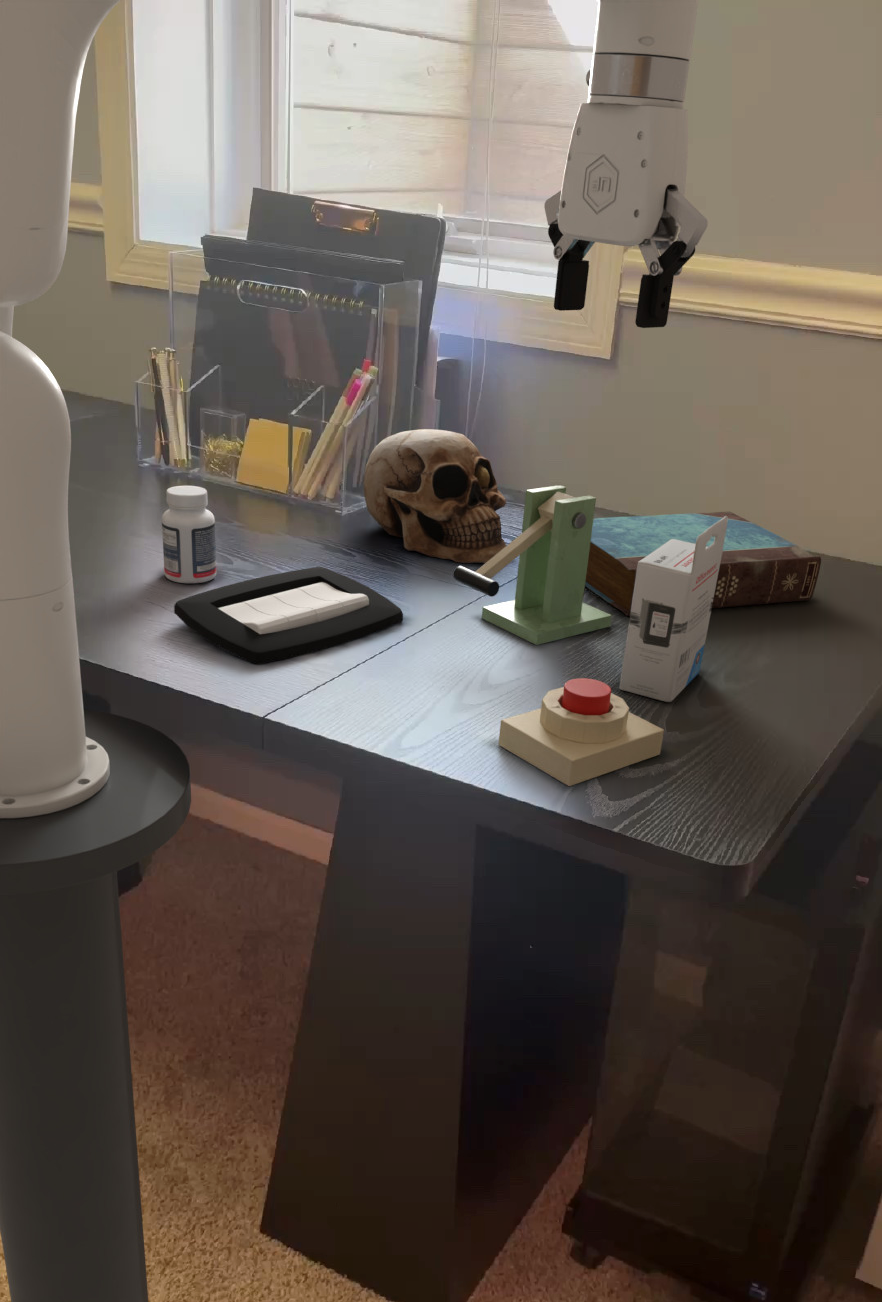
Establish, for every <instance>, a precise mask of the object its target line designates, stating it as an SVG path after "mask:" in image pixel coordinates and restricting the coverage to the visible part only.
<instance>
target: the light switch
mask: <svg viewBox="0 0 882 1302" xmlns="http://www.w3.org/2000/svg"><path fill="white" fill-rule="evenodd" d="M173 612H174V614H175V615H176V617H178V618H179V619H180V620H181V621H182V622H183V623H184V624H185V625H186V626H187V627H188V628H190V629H191V630H192V631H194V632H195V633H196V634H197V635H199V636H201V637H202V638H203V639H205V640H206V641H208V642H209V643H211V644H213V645H215V646H217V647H218V648H220V649H222V650H223V651H226V652H228V653H229V654H232V655H234V656H237V657H238V658H241V659H243V660H245V661H248V662H249V663H252V664H266V663H271V662H276V661H280V660H286V659H289V658H293V657H298V656H302V655H306V654H311V653H314V652H319V651H322V650H326V649H329V648H333V647H335V646H340V645H344V644H346V643H349V642H352V641H356V640H358V639H361V638H364V637H367V636H369V635H372V634H375V633H377V632H380V631H383V630H385V629H389V628H390V627H393V626H394V625H397V624H400V623H402V621H403V620H404V613H403V610H402V609H401V608H400V606H397V605H396V604H395V603H394V602H393V601H391V600H390V599H388V598H387V597H386V596H384V595H383V594H380V593H379V592H377V591H376V590H374V589H372V588H371V587H369V586H367V585H365V584H363V583H361V582H359V581H357V580H355V579H352V578H350V577H349V576H346V575H344V574H342V573H338V572H337V571H334V570H332V569H329V568H326V567H322V566H316V567H309V568H302V569H296V570H291V571H285V572H279V573H275V574H270V575H266V576H265V575H264V576H261V577H256V578H252V579H247V580H243V581H238V582H236V583H232V584H228V585H223V586H220V587H217V588H213V589H210V590H206V591H203V592H199V593H197V594H194V595H190V596H187V597H185V598H182V599H179V600H176V602H175V604H174V606H173Z"/></svg>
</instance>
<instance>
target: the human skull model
mask: <svg viewBox="0 0 882 1302" xmlns="http://www.w3.org/2000/svg"><path fill="white" fill-rule="evenodd" d="M366 462H367V463H366V465H365V468H364V469H365V470H364V475H363V496H364V500H365V505H366V509H367V511H368V514H369V515H371V517H372V518H373V519H374V520H375V522H377V524H378V525H379V526H380V527H381V528H382V529H383V530H384V531H385V532H386V533H387V534H388V535H390V536H394V537H397V538H402V539H403V547H404V549H405V550H407V551H409V552H417V553H419V554H423V555H426V556H428V557H432V558H439V559H441V560H450V561H451V560H452V561H454V562H456V563H463V564H478V563H481V564H485V563H486V562H488V561H489V560H490V559H491V558H492V557H494V556H495V555H496V554H497V553H499V552H500V551H501V550H502V549H503V548H505V547H506V546H507V544H506V542H505V539H504V538H503V536H502V522H501V516H500V515H499V514H498V513H497V511H498V510H500V509H502V508H504V507H505V506H506V504H507V502H506V501H507V500H506V498H505V496H504V494H502V492H500V490H499V489H498V483H497V480H496V477H495V475H494V471H493V469H492V468H493V467H492V463H491V461H490V460H489V458H485V457H484V456H482V454H481V452H480V451H479V449H478V448H477V446H476V445H475V444H474V443H473V442H472V441H471V440H470V439H469V438H468V437H467V436H465V435H464V434H463V433H460V432H455V431H451V430H445V429H432V428H431V429H430V428H428V429H425V428H423V429H422V428H421V429H412V430H406V431H400V432H397V433H394V434H392V435H389V436H388V437H385V438H384V439H382V440H381V441H380V442H379V443H378V444H377V445H375V447H374V448H373V449H372V451H371V453H370V455H369V457H368V460H367V461H366Z"/></svg>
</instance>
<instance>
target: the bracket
mask: <svg viewBox="0 0 882 1302" xmlns="http://www.w3.org/2000/svg"><path fill="white" fill-rule="evenodd" d="M557 492H561V493H564V494H566V493H567V487H566V486H563V485H560V484H559V485H558V484H557V485H551V486H544V487H539V488H532V489H531V488H530V489H526V490H525V497H524V505H523V506H524V507H523V517H522V527H521V534H522V533H523V532H524V531H525V530H527V529H528V528H529V527H530V526H531V525H533V524H534V523H535V522H536V521H538V520H539V519H540V518H541V517H540V514H539V510H538V507H540V506H541V505H542V504H543V503H545V502H546V501H547V500H548V499H549V498H551V497H552V496H553V495H554V494H556V493H557ZM566 495H567V494H566ZM596 502H597V497H594V496H592V495H582V496H577V497H576V496H575V497H574V498H569V499H563V500H557V501H555V507H554V515H553V524H552V531H550V530H549V531H548V532H547V533H546V534H544V535H543V536H542V537H541V538H539V539H538V540H537V541H536V542H535V543H533V544H532V545H531V546H530V547H529V548H527V549H526V550H525V551H524V552H523V553H521V554H520V555H519V556H518V565H517V566H518V567H517V576H516V586H515V597H514V599H513V600H508V601H503V602H500V603H499V602H498V603H495V604H490V605H486V606H482V611H481V619H482V620H485V621H486V622H488V623H491V624H492V625H495V626H497V627H498V628H500V629H503V630H505V631H506V632H509V633H511V634H513V635H515V636H517V637H519V638H521V639H523V640H525V641H527V642H529V643H531V644H533V645H535V646H538V645H543V644H546V643H550V642H554V641H558V640H562V639H567V638H570V637H574V636H578V635H582V634H586V633H589V632H593V631H598V630H602V629H606V628H610V627H611V625H612V619H613V617H612V616H613V615H612V614H610V613H608V612H605V611H603V610H601V609H599V608H596V607H594V606H592V605H590V604H588V603H584V594H585V588H586V587H585V580H586V573H587V565H588V557H589V550H590V542H591V534H592V527H593V519H594V518H595V511H596Z"/></svg>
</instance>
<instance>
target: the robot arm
mask: <svg viewBox="0 0 882 1302" xmlns="http://www.w3.org/2000/svg"><path fill="white" fill-rule="evenodd" d="M121 1H122V0H0V819H14V818H26V817H34V816H40V815H46V814H50V813H54V812H57V811H61V810H65V809H67V808H70V807H72V806H75V805H77V804H79V803H81V802H83V801H85V800H87V799H89V798H90V797H92V796H93V795H94V794H95V793H97V792H98V791H99V790H101V788H102V787H103V786H104V785H105V783H106V782H107V780H108V777H109V775H110V765H109V758H108V754H107V752H106V751H105V750H104V748H103V747H102V746H101V745H99V744H98V743H97V742H95V741H94V740H92V739H90V738H88V737H86V734H85V722H84V710H83V709H84V699H83V688H82V687H83V686H82V677H81V675H82V673H81V664H80V662H81V661H80V649H79V640H78V639H79V638H78V626H77V614H76V603H75V591H74V590H75V589H74V579H73V570H72V559H71V545H70V531H69V529H70V528H69V482H70V481H69V480H70V466H71V455H72V454H71V453H72V452H71V451H72V433H71V431H72V429H71V421H70V414H69V411H68V410H69V409H68V406H67V402H66V400H65V396H64V394H63V391H62V389H61V386H60V384H59V382H58V381H57V378H55V376H54V375H53V373H52V372H51V370H50V368H49V367H48V366H47V365H46V363H44V361H43V360H42V359H41V358H40V357H39V356H38V355H37V354H36V353H35V352H34V351H33V350H32V349H30V348H29V347H28V346H27V345H25V344H24V343H22V342H21V341H19V340H17V339H16V338H14V337H13V325H14V315H15V314H14V313H15V312H14V311H15V310H14V309H15V307H18V306H22V305H25V304H26V305H27V304H28V303H30V302H32V301H35V300H37V299H39V298H41V297H42V296H43V295H45V294H46V293H47V292H48V291H49V290H50V288H51V287H52V286H53V285H54V284H55V282H56V280H57V279H58V277H59V275H60V273H61V271H62V267H63V264H64V260H65V257H66V251H67V245H68V233H69V215H70V214H69V213H70V198H71V187H72V186H71V184H72V173H73V172H72V171H73V161H74V160H73V158H74V145H75V131H76V121H77V111H78V105H79V99H80V92H81V84H82V77H83V72H84V67H85V63H86V60H87V55H88V53H89V49H90V47H91V45H92V42H93V40H94V37H95V35H96V33H97V32H98V30H99V28H100V26H101V25H102V23H103V21H104V20H105V18H107V16H108V15H109V14H110V12H111V11H112V10H113V9H114V7H115V6H117V5H118V4H119V3H120V2H121ZM596 1H597V2H598V5H597V13H596V24H595V32H594V42H593V50H592V54H593V55H592V60H591V66H590V67H591V68H590V69H588V71H587V73H586V76H585V82H586V84H587V86H588V96H587V103H586V102H581V103H580V105H579V109H578V112H577V115H576V118H575V122H574V124H573V129H572V131H571V135H570V136H571V137H570V141H569V145H568V150H567V155H566V160H565V166H564V171H563V177H562V184H561V190H559V191H558V192H556V193H555V194H553V195H552V196H550V197H548V199H546V200H545V202H544V207H543V208H544V212H545V217H546V222H547V226H548V230H547V235H548V238H549V240H550V241H551V243H552V246H553V247H554V248H553V250H552V251H553V257H554V258H555V259H556V260H558V261H557V271H556V280H555V281H556V282H555V290H554V300H553V308H554V310H556V311H559V312H560V311H561V312H562V311H563V312H564V311H582V310H583V309H584V308H585V305H586V295H587V287H588V280H589V271H590V261H589V260H586V259H584V258H585V256H586V255H588V253H589V251H590V250H591V249H592V247H593V245H594V244H595V243H598V244H606V245H612V246H621V247H636V246H638V248H639V250H640V253H641V256H642V258H643V261H644V263H645V265H646V267H647V270H648V273H649V274H647V273H646V274H645V273H643V274H642V275H641V278H640V285H639V292H638V300H637V307H636V313H635V321H634V322H635V326H636V327H637V328H641V329H652V328H664V327H666V325H667V323H668V317H669V310H670V305H671V297H672V290H673V283H674V279H675V277H676V276H679V275H680V274H681V273H682V272H683V267H684V265H686V264H687V262H688V261H689V260H691V258H693V256H694V255H695V253H696V246H698V244H699V243H700V241H701V240H702V237H703V236H704V233H705V232H706V230H707V227H708V224H709V222H708V218H706V217H705V215H703V214H702V213H701V212H700V211H699V210H698V209H697V208H696V207H695V206H694V205H693V204H692V203H691V202H690V201H689V200H688V199H687V198H686V197H685V192H686V181H687V171H688V152H689V151H688V150H689V123H688V122H689V119H688V109H684V105H685V98H686V90H687V84H688V77H689V69H690V61H691V55H692V49H693V41H694V34H695V26H696V19H697V14H698V8H699V7H698V5H699V0H596Z"/></svg>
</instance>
